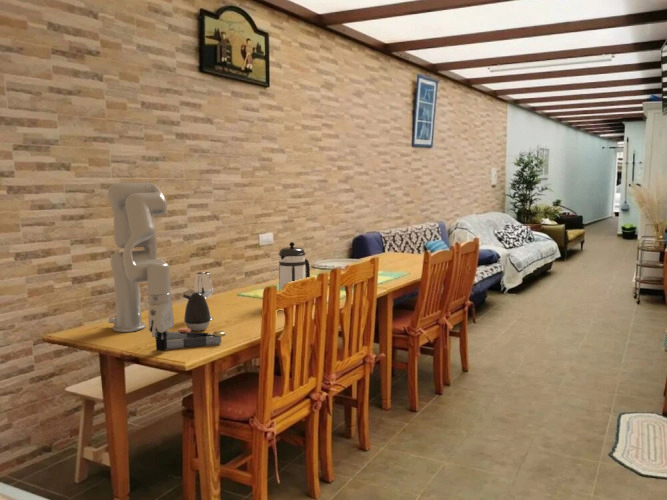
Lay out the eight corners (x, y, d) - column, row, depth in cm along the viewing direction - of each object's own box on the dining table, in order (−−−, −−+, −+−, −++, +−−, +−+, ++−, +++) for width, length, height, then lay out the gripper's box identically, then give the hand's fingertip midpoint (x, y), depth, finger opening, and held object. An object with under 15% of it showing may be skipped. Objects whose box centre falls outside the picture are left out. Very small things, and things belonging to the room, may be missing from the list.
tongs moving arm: (157, 350, 202) (157, 341, 202) (157, 349, 204) (157, 340, 203) (220, 344, 209) (220, 336, 209) (219, 343, 211) (219, 334, 210)
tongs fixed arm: (161, 342, 212) (160, 331, 212) (166, 338, 217) (166, 328, 216) (223, 345, 208) (222, 334, 208) (227, 341, 212) (227, 331, 212)
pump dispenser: (186, 326, 235) (185, 290, 233) (212, 325, 236) (211, 289, 234) (182, 333, 225) (180, 295, 223) (209, 332, 225) (207, 294, 224)
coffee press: (311, 307, 268) (310, 243, 264) (276, 307, 267) (275, 244, 263) (309, 299, 285) (309, 239, 281) (277, 299, 284) (276, 239, 280)
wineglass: (209, 321, 243) (207, 274, 240) (192, 320, 244) (190, 274, 242) (216, 316, 250) (215, 271, 248) (200, 316, 252) (198, 271, 249)
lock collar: (178, 340, 214) (178, 329, 214) (183, 337, 219) (183, 326, 218) (186, 340, 214) (185, 329, 213) (191, 337, 218) (190, 326, 217)
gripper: (159, 303, 190) (161, 356, 192) (179, 294, 204) (181, 344, 207) (138, 302, 191) (141, 355, 193) (159, 293, 206) (161, 343, 208)
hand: (161, 349), depth 200 cm, fingers closed
